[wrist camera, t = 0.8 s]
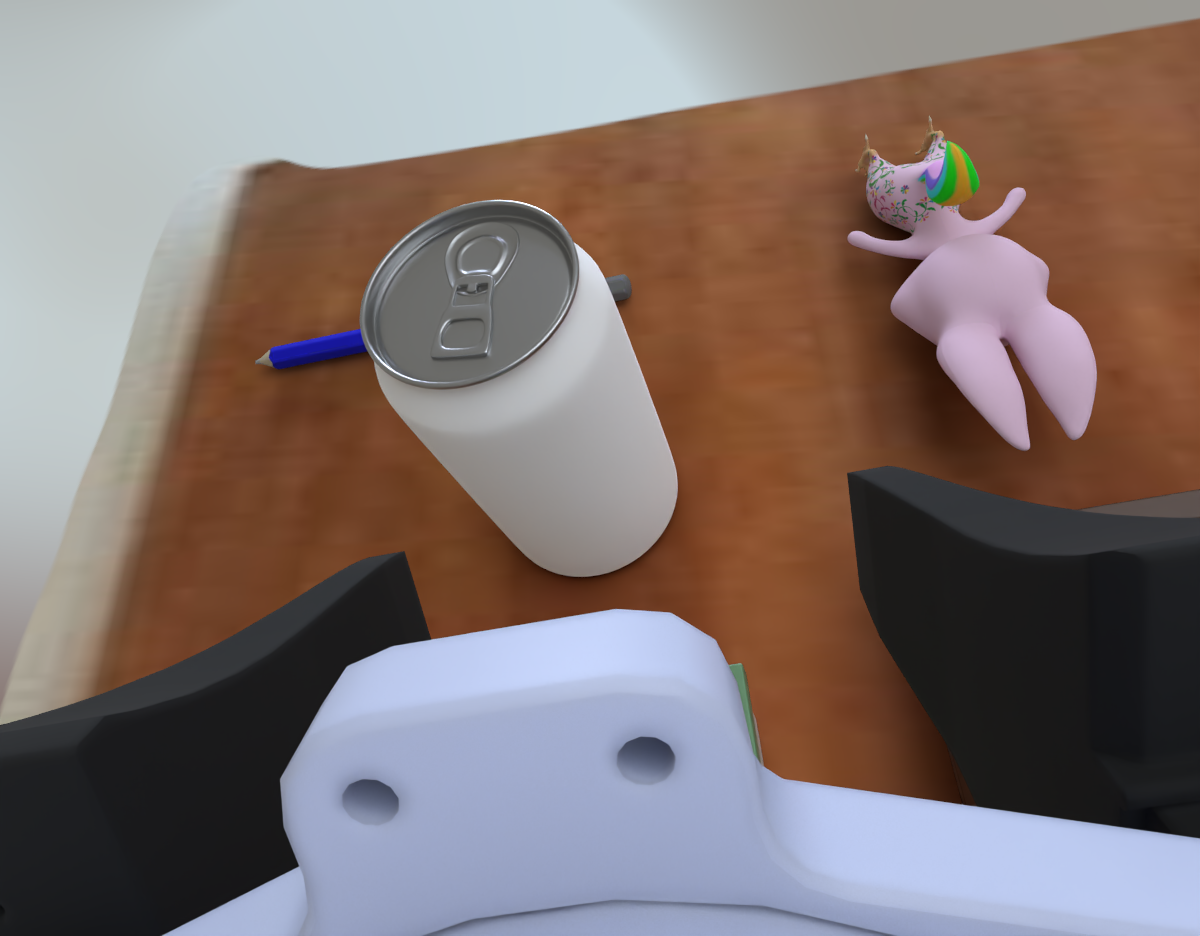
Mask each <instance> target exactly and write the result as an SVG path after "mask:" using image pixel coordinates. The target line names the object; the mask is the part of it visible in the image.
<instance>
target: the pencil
mask: <svg viewBox="0 0 1200 936" xmlns="http://www.w3.org/2000/svg"><path fill="white" fill-rule="evenodd" d="M605 280H606V282H607V284H608V287H609V289H610V291H611V294H612V296H613V299H614V301H619V300H624V299H628V298H629V297H630V295H631V283H630V280H629V278H628V277H627V276H625V275H618V276H613V277H608V278H605ZM362 352H367V349H366V347H365V344H364V342H363V338H362V334H361V329H358V330H354V331H349V332H344V333H339V334H334V335H330V336H325V337H320V338H315V339H310V340H305V341H301V342H296V343H291V344H286V345H281V346H277V347H273V348H271V349H270V350H269V351H268V352H267V353H266V354H265V355H264V356H263V357H262V358H260V359H259V360H256V361H255V363H256V364H263V365H267V366H270V367H274V368H276V369H283V368H288V367H293V366H298V365H303V364H308V363H313V362H318V361H322V360H327V359H332V358H337V357H342V356H347V355H352V354H357V353H362Z"/></svg>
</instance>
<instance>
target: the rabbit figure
mask: <svg viewBox="0 0 1200 936" xmlns="http://www.w3.org/2000/svg"><path fill="white" fill-rule="evenodd" d="M865 142H866V145H865V147H864V149H863V154H862V157H861V160H860V161H859V163H858V166H859V168H858V170H856V169H855V170H856V172H860V169H861V168H864V170H866V174H865V177H867V175H868V178H867V187H866V194H867V200H868V203H869V206H870V208H871V210H872V211H873V213H874V214H875V215H876V216H877V217H878V218H879V219H880V220H882V221H883V222H886V223H888V224H890V225H893V226H895V227H897V228H900V229H902V230H904V231H907V232H910V233H911V234H912V236H911V237H910V238H908V239H906V240H902V241H888V240H881V239H876V238H873V237H871V236H869V235H867V234H866V233H864V232H861V231H853V232H851V233H850V234H849V235H848V242H849V243H850V244H851V245H853V246H856V247H859V248H862V249H865V250H868V251H872V252H876V253H879V254H884V255H889V256H894V257H900V258H909V259H919V260H924V261H923V262H922V263H921V264H920V265H919V266H918V267H917V268H916V270H915V271H914V272H913V273H912V274H911V275H910V276H909V277H908V279H907V280H906V281H905V282H904V283H903V285H902V286H901V287H900V289H899V290H898V291H897V293H896V294H895V296H894V298H893V300H892V302H891V312H892V314H893V315H894V316H895V317H896V318H897V319H899V320H900V321H902V322H903V323H905V324H906V325H908V326H909V327H910V328H912V329H913V330H914V331H916V332H917V333H919V334H920V335H922V336H923V337H925V338H926V339H928V340H929V341H931V342H932V343H934V344H935V345H937V346H938V347H937V360H938V362H939V364H940V366H941V367H942V369H943V370H944V372H945V373H946V374H947V375H948V376H949V378H950V379H951V380H952V381H953V382H954V383H955V384H956V386H957V387H958V388H959V390H960V391H961V392H962V394H963V395H964V396H965V397H966V398H967V399H968V401H969V402H970V403H971V404H972V405H973V406H974V407H975V408H976V409H977V410H978V412H979V413H980V414H981V415H982V416H983V417H984V418H985V419H986V420H987V421H988V423H989V424H990V425H991V426H992V427H993V428H994V429H995V430H996V431H997V432H998V434H999V435H1000V436H1001V437H1002V438H1004V439H1005V440H1006V441H1007V442H1008V443H1009V444H1011V445H1012V446H1013V447H1015V448H1017V449H1019V450H1022V451H1026V450H1028V449H1029V448H1030V440H1029V434H1028V428H1027V419H1026V408H1025V402H1024V397H1023V393H1022V389H1021V386H1020V383H1019V381H1018V379H1017V377H1016V374H1015V372H1014V370H1013V368H1012V365H1011V362H1010V360H1009V357H1008V355H1007V352H1006V350H1005V348H1004V347H1005V346H1007V345H1009V344H1010V346H1011V347H1012V349H1013V351H1014V353H1015V355H1016V356H1017V358H1018V360H1019V362H1020V363H1021V365H1022V367H1023V369H1024V370H1025V372H1026V373H1027V375H1028V377H1029V378H1030V380H1031V381H1032V383H1033V385H1034V386H1035V388H1036V389H1037V391H1038V392H1039V394H1040V396H1041V398H1042V399H1043V401H1044V402H1045V404H1046V405H1047V406H1048V408H1049V409H1050V411H1051V412H1052V413H1053V415H1054V416H1055V417H1056V419H1057V420H1058V421H1059V423H1060V425H1061V426H1062V428H1063V429H1064V431H1065V433H1066V434H1067V436H1068V437H1069V438H1070V439H1072V440H1076V439H1078V438H1080V437H1081V436H1082V435H1083V433H1084V432H1085V430H1086V427H1087V424H1088V421H1089V418H1090V415H1091V411H1092V406H1093V402H1094V396H1095V390H1096V380H1097V370H1096V362H1095V357H1094V354H1093V351H1092V348H1091V345H1090V342H1089V340H1088V337H1087V335H1086V333H1085V332H1084V330H1083V328H1082V327H1081V326H1080V324H1079V323H1078V322H1077V321H1076V320H1075V319H1074V318H1073V317H1072V316H1070V315H1069V314H1068V313H1066V312H1064V311H1062V310H1060V309H1058V308H1056V307H1054V306H1053V305H1051V304H1050V303H1049V302H1048V300H1047V297H1046V293H1047V285H1048V279H1049V269H1048V267H1047V265H1046V264H1045V263H1044V262H1043V261H1042V260H1041V259H1040V258H1038V257H1036V256H1035V255H1033V254H1031V253H1030V252H1028V251H1027V250H1025V249H1024V248H1023V247H1021V246H1020V245H1018V244H1017V243H1015V242H1014V241H1011V240H1009V239H1007V238H1004V237H1001V236H997V235H992V234H993V233H994V232H996V231H997V230H998V229H999V228H1000V227H1001V226H1003V225H1004V224H1005V223H1006V222H1007V221H1008V220H1009V219H1010V218H1011V217H1012V215H1013V214H1014V213H1015V212H1016V210H1017V209H1018V208H1019V206H1020V205H1021V204H1022V202H1023V201H1024V199H1025V197H1026V192H1025V190H1024V189H1023V188H1015V189H1013V190H1011V191H1010V192H1009V194H1008V195H1007V197H1006V200H1005V202H1004V204H1003V205H1002V206H1001V207H1000V208H999V209H998V210H997V211H996V212H994V213H993V214H992V215H990V216H988V217H986V218H984V219H982V220H978V221H969V220H966V219H964V218H963V217H961V216H960V214H959V212H958V210H959V207H960V204H962V203H964V202H966V201H967V200H969V199H970V198H971V197H972V196H973V194H974V193H975V192H976V191H977V189H978V187H979V179H978V176H977V173H976V171H975V168H974V166H973V164H972V162H971V160H970V158H969V157H968V155H967V154H966V153H965V151H964V150H963V149H961V148H960V147H959V146H958V145H957V144H955V143H952V142H950V141H947V144H946V142H945V139H944V134H943V132H942V131H937V132H933V127H932V120H931V118H930V116H929V128H928V129H927V131H926V136H925V139H924V142H923V144H922V146H921V150H920V151H919V152H917V153H915V154H916V155H919V154H920V153H922V152H925V151H926V152H927V155H926V157H925V159H924V160H923V161H922V162H920V163H914V164H903V165H899V166H894V165H892V164H891V163H889V162H887V161H885V160H883V159H881V158H880V157H879V156H878V153H877V151H876V150H870V148H869V144H868V138H867V136H866V134H865Z"/></svg>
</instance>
